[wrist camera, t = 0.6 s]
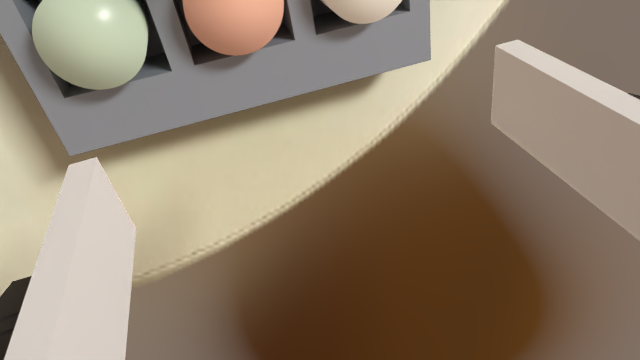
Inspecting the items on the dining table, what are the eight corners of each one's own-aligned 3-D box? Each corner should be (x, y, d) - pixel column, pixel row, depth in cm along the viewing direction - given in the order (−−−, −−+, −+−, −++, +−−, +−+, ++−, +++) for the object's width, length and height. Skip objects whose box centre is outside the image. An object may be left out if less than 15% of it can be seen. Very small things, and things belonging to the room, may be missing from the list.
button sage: (29, -17, 28) (9, -1, 25) (128, -39, 29) (122, -26, 26) (75, 75, 32) (63, 100, 28) (162, 53, 33) (161, 75, 29)
